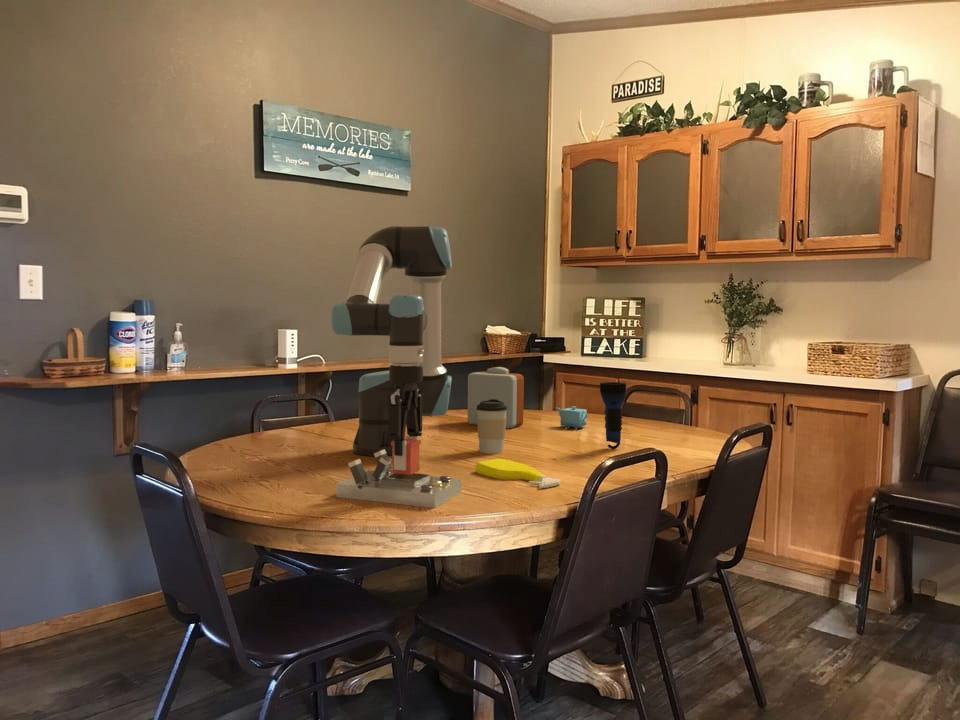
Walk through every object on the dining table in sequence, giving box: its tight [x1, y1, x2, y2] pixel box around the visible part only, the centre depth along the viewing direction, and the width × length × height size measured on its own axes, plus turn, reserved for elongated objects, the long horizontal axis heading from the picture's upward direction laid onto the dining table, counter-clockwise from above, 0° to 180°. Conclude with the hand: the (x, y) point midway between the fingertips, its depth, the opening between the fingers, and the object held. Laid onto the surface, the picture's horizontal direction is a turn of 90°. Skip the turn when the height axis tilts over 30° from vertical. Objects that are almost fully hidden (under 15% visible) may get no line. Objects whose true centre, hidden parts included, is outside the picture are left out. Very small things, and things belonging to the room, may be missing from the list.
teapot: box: [556, 406, 588, 430], centre depth 273 cm, size 12×6×8 cm, turn 60°
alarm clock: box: [467, 366, 525, 429], centre depth 276 cm, size 18×9×21 cm, turn 58°
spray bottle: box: [474, 458, 561, 489], centre depth 195 cm, size 3×11×24 cm
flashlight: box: [599, 381, 627, 450], centre depth 234 cm, size 8×8×20 cm
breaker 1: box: [347, 458, 368, 484], centre depth 174 cm, size 2×2×5 cm
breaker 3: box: [372, 455, 392, 480], centre depth 178 cm, size 2×2×5 cm
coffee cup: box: [477, 399, 507, 455], centre depth 228 cm, size 9×9×15 cm
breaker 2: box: [373, 449, 392, 472], centre depth 185 cm, size 2×2×5 cm
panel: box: [335, 469, 462, 509], centre depth 177 cm, size 24×15×4 cm, turn 69°
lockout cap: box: [391, 439, 422, 475], centre depth 176 cm, size 5×5×7 cm
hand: (405, 466), depth 176 cm, fingers closed on lockout cap, 5 cm apart
